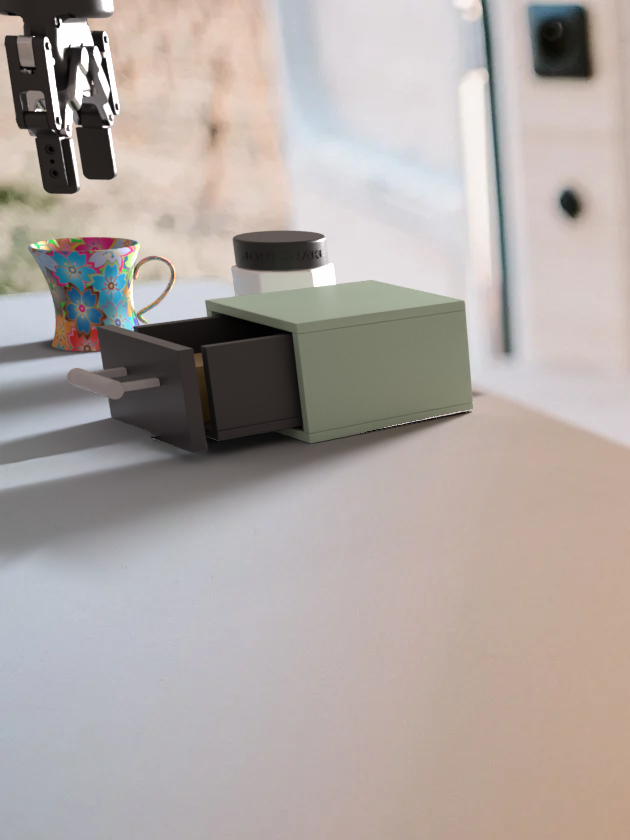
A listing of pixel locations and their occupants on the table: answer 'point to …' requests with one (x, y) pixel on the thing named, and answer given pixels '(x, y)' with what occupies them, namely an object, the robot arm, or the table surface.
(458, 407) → the green drawer cabinet
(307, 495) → the table surface
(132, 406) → the dark drawer with handle
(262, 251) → the jar
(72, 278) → the mug
